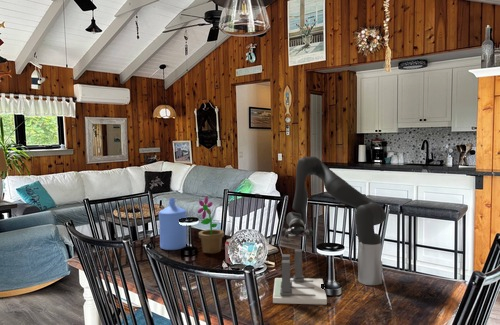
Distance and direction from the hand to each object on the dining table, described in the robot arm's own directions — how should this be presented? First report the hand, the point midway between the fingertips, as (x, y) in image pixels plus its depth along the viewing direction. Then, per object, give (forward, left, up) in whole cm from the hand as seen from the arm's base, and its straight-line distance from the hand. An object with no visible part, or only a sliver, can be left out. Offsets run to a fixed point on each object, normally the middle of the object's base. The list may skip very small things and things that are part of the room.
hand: (297, 236), depth 168 cm
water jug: (+71, -42, -18) cm, 84 cm away
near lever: (+5, +26, -15) cm, 31 cm away
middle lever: (+5, +19, -15) cm, 25 cm away
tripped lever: (0, +12, -15) cm, 19 cm away
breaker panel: (0, +19, -18) cm, 26 cm away
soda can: (+32, -14, -18) cm, 39 cm away
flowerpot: (+47, -35, -18) cm, 61 cm away
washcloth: (+20, -36, -18) cm, 45 cm away
